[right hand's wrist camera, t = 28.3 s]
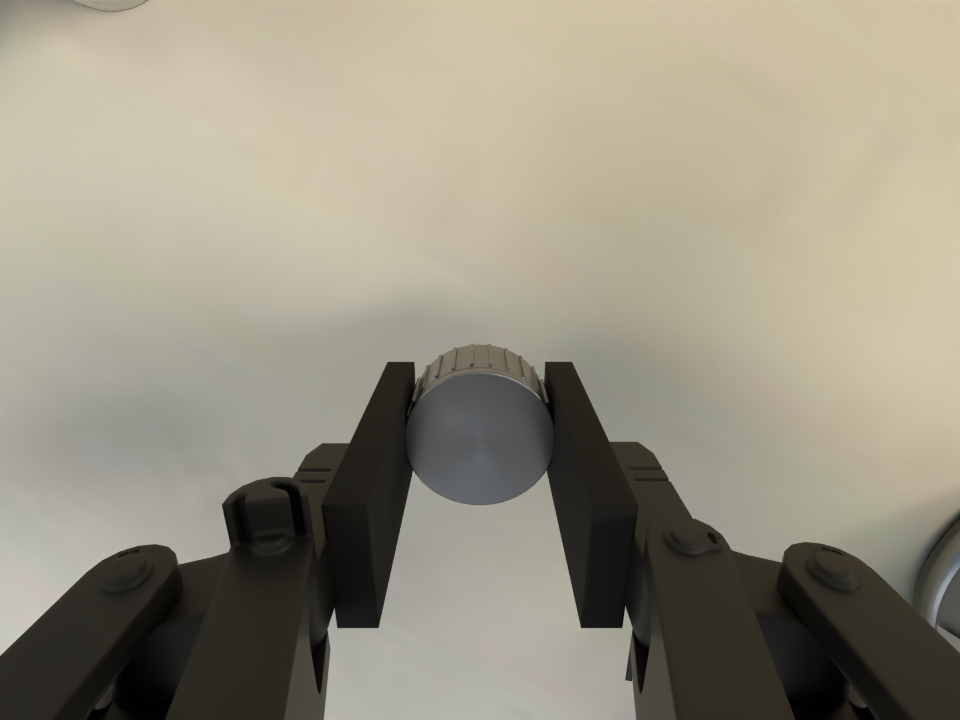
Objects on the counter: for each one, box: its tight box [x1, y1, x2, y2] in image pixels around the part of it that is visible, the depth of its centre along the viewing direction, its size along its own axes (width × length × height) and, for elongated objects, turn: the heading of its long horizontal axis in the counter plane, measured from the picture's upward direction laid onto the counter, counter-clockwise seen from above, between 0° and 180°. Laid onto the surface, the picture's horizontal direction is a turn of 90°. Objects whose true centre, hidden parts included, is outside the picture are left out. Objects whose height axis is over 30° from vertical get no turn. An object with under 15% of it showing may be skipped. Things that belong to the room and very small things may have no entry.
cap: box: [405, 344, 554, 505], centre depth 14 cm, size 4×4×2 cm
